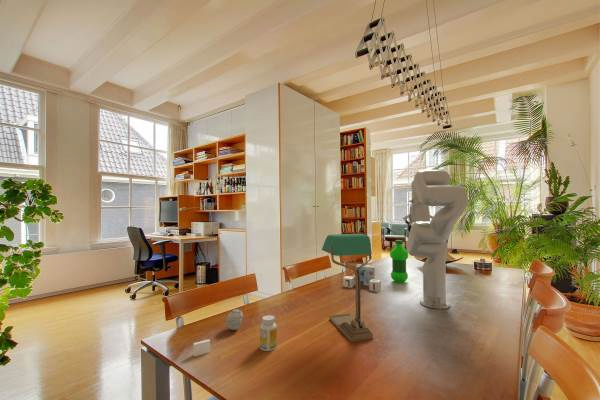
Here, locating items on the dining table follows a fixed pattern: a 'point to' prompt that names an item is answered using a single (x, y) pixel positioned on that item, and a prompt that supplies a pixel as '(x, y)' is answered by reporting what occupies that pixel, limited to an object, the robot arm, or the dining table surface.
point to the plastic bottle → (399, 262)
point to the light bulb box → (366, 273)
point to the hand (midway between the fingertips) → (419, 232)
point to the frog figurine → (234, 319)
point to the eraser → (201, 347)
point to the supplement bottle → (268, 333)
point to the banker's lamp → (355, 246)
